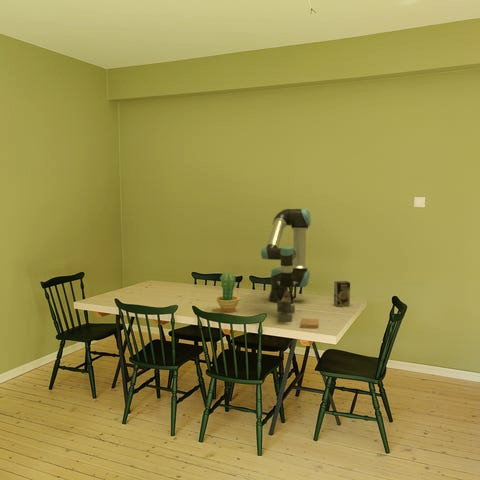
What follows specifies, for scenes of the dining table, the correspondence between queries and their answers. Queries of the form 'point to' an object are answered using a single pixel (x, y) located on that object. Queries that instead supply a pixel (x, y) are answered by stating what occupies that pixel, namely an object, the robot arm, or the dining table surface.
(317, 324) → the green rectangular panel
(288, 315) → the tool rack
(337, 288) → the coffee box
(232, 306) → the potted cactus
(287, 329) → the dining table surface
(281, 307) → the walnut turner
